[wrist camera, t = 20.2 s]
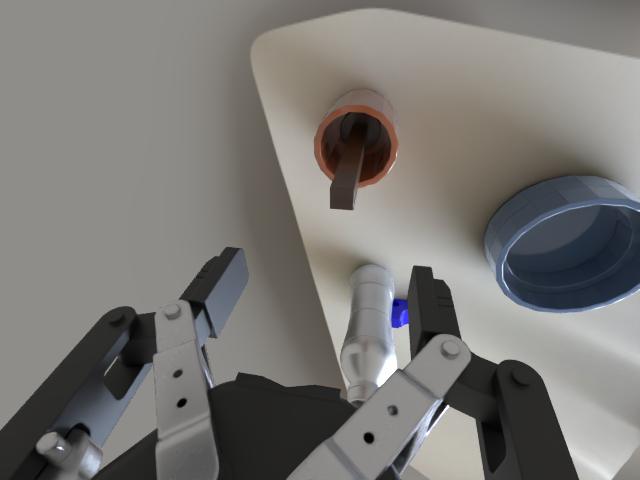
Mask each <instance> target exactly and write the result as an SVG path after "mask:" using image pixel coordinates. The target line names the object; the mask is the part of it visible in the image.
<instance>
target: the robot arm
mask: <svg viewBox="0 0 640 480" xmlns="http://www.w3.org/2000/svg"><path fill="white" fill-rule="evenodd" d="M247 281H248V269H247V264H246V259H245V254H244V251H243V249H242V248H232V247H226V248H225V249H224V250H223V252H222V253H221V255H220V256H219V257H218V256H215V257H214V258H212V259H211V260H209V261H208V262H206V264H205V265H204V266H203V268H202V269H201V271H200V272H199V273H198V274H197V276H196V278H194V280H193V281H192V282H191V283H190V285H189V286H188V287H187V289H186V290H185V291H184V293H183V294H182V295H181V297H180V298H179V299H178V300H174V301H170V302H168V303H166V304H164V305H163V306H161V307H160V308H159V309H158V311H157V312H153V313H146V314H139V315H137V313H136V312H135V310H134V309H133V308H131V307H128V306H123V307H118V308H115V309H113V310H111V311H109V312H107V313H106V314H105V315H103V316H102V317H101V318H100V320H99V321H98V322H97V323H96V324H95V325H94V326H93V327H92V329H91V330H90V331H89V332H88V333H87V334H86V335H85V337H84V338H83V339H82V340H81V341H80V342H79V343H78V344H77V345H76V347H75V348H74V349H73V350H72V351H71V352H70V353H69V354H68V356H67V357H66V358H65V359H64V360H63V361H62V362H61V363H60V364H59V366H58V367H57V368H56V369H55V370H54V371H53V373H51V375H50V376H49V377H48V378H47V379H46V380H45V381H44V382H43V383H42V385H41V386H40V387H39V388H38V389H37V390H36V391H35V392H34V394H33V395H32V396H31V397H30V398H29V399H28V400H27V401H26V403H25V404H24V405H23V406H22V407H21V408H20V409H19V410H18V412H17V413H16V414H15V415H14V416H13V417H12V418H11V420H9V422H8V423H7V424H6V425H5V426H4V427H3V428H2V429H1V431H0V480H402V479H401V478H400V476H401V474H402V473H403V471H404V470H405V469H406V467H407V466H408V465H409V463H410V462H411V461H412V459H413V458H414V456H415V455H416V453H417V452H418V450H419V448H420V446H421V445H422V443H423V441H424V440H425V438H426V437H427V435H428V434H429V433H430V431H431V430H432V429H433V427H434V426H435V425H436V423H437V422H438V420H439V419H440V418H441V416H442V415H443V414H444V412H445V411H446V410H447V408H448V407H449V406H450V407H452V408H454V409H456V410H458V411H460V412H463V413H465V414H467V415H469V416H471V417H473V418H475V420H476V426H477V432H478V439H479V445H480V451H481V458H482V464H483V471H484V477H485V480H579V478H578V475H577V472H576V470H575V467H574V464H573V461H572V458H571V456H570V453H569V450H568V447H567V445H566V442H565V439H564V436H563V434H562V431H561V428H560V425H559V422H558V420H557V417H556V414H555V411H554V409H553V406H552V403H551V400H550V398H549V395H548V392H547V389H546V387H545V384H544V381H543V379H542V378H541V376H540V375H539V374H538V373H537V372H536V371H535V370H534V369H533V368H531V367H530V366H528V365H527V364H525V363H523V362H520V361H517V360H504V361H502V362H501V363H500V364H499V365H498V364H496V363H493V362H491V361H488V360H486V359H483V358H481V357H479V356H477V355H475V354H474V353H473V352H471V351H470V349H469V347H468V346H467V345H466V343H465V342H463V341H462V339H461V335H460V331H459V326H458V322H457V318H456V313H455V309H454V304H453V300H452V296H451V291H450V288H449V287H448V286H447V284H446V283H445V282H444V281H443V280H439V279H433V273H432V268H431V267H426V266H415V265H414V266H413V269H412V274H411V279H410V284H409V289H408V298H407V305H408V320H409V336H410V351H411V362H410V363H409V364H408V365H407V366H406V367H405V368H404V369H403V370H401V369H397V370H395V371H394V372H393V373H392V374H391V375H390V376H389V377H388V378H387V379H386V380H385V381H384V383H383V384H382V385H381V386H380V387H379V388H378V389H377V390H376V391H375V392H374V393H373V394H372V395H371V396H370V397H369V398H368V399H367V400H366V401H365V402H364V403H363V404H362V406H361V407H360V408H359V409H358V408H357V407H355V406H354V405H353V404H352V403H350V402H348V401H347V400H345V399H343V398H341V389H337V388H331V387H325V386H318V385H307V386H296V387H284V386H282V385H280V384H278V383H276V382H274V381H272V380H270V379H267V378H265V377H263V376H258V375H252V374H245V373H240V372H239V373H238V375H237V377H236V380H235V381H229V382H225V383H222V384H219V385H217V386H215V382H214V379H213V375H212V370H211V367H210V362H209V358H208V353H207V349H206V346H205V342H206V340H207V338H208V337H210V338H218V336H219V334H220V333H221V331H222V329H223V327H224V325H225V324H226V322H227V320H228V318H229V316H230V314H231V312H232V311H233V309H234V307H235V305H236V303H237V301H238V299H239V298H240V296H241V294H242V292H243V290H244V288H245V286H246V284H247ZM116 357H118V359H117V360H116V361H115V363H114V364H113V365H112V367H111V368H110V369H109V371H108V372H107V373H106V375H105V376H104V374H105V371H106V370H107V369H108V367H109V366H110V365H111V363H112V362H113V361H114V359H115V358H116ZM152 365H153V368H154V383H155V399H156V414H157V429H155V430H154V431H152V432H151V433H150V434H148V435H147V436H146V437H144V438H143V439H142V440H140V441H139V442H138V443H136V444H135V445H134V446H132V447H131V448H130V449H128V450H127V451H126V452H124V453H123V454H121V455H120V456H119V457H117V458H116V459H115V460H113V461H112V462H111V463H109V464H108V465H107V466H105V467H104V468H103V469H101V470H100V471H99V466H100V464H101V461H102V456H103V455H102V454H103V452H102V449H101V448H102V446H103V445H104V443H105V441H106V440H107V438H108V437H109V435H110V433H111V432H112V430H113V429H114V427H115V425H116V424H117V422H118V420H119V419H120V417H121V416H122V414H123V412H124V411H125V409H126V408H127V406H128V404H129V403H130V401H131V399H132V398H133V396H134V395H135V393H136V391H137V390H138V388H139V386H140V385H141V383H142V382H143V380H144V378H145V376H146V375H147V374H148V372H149V370H150V369H151V367H152ZM103 377H104V378H103Z"/></svg>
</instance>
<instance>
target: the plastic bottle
mask: <svg viewBox="0 0 640 480" xmlns="http://www.w3.org/2000/svg"><path fill="white" fill-rule="evenodd" d="M394 294H395V284H394V281H393V278H392V276H391V274H390V273H389V272H388V271H387V270H385V269H384V268H382V267H380V266H378V265H364V266H362V267H360V268H358V269H357V270H356V271H355V272H354V273H353V275H352V278H351V281H350V297H351V314H350V320H349V325H348V330H347V334H346V337H345V340H344V343H343V347H342V350H341V355H340V361H341V367H342V370H343V372H344V374H345V376H346V378H347V379H348V381H349V383H350V385H349V386H348V391H347V394H348V400H347V401H348V402H350V403H352V404H353V405H354V406H355V407H357V408H358V409H359V408H360V407H361V406H362V404H363V403H364V402H365V401H366V400H367V399H368V398H369V397H370V396H371V395H372V394H373V393H374V392H375V391H376V390H377V389H378V388H379V387H380V386H381V385H382V384H383V383H384V381H385V380H386V379H387V378H388V377H389V376H390V375H391V374H392V373H393V372H394V371H395V370H396V369H397V360H396V353H395V348H394V343H393V337H392V326H391V313H392V303H393V300H394Z"/></svg>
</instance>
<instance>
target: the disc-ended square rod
mask: <svg viewBox="0 0 640 480" xmlns="http://www.w3.org/2000/svg"><path fill="white" fill-rule="evenodd" d="M380 133H381V124H380V121H379V120H378V119H377V118H375V117H373V116H370V115H368V114H366V113H363V112H349V113H347V115H346V116H345V117H344V119H343V121H342V123H341V126H340V135H341V138H342V141H343V142H344V144H345V148H344V150H343V153H342V156H341V159H340V162H339V164H338V167H337V170H336V173H335V176H334V178H333V181H332V184H331V187H330V209H343V210H354V204H355V199H356V194H357V189H358V183H359V178H360V173H361V168H362V162H363V157H364V152H365V150H367V149H369V148H371V147H373V146H374V145H375V144H376V142H377V141H378V139H379V137H380Z"/></svg>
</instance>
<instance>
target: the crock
mask: <svg viewBox="0 0 640 480" xmlns="http://www.w3.org/2000/svg"><path fill="white" fill-rule="evenodd" d="M349 112H363V113H366V114H368V115H370V116H373V117H375V118H377V119H378V120H379V121H380V124H381V133H380V137H379V139H378V141H377V142H376V144H375V145H374V146H373V147H371V148H369V149H367V150H365V152H364V157H363V162H362V168H361V173H360V178H359V183H358V188H362V187H365V186H368V185H371V184H375V183H377V182H378V181H379V180H380V179H382V178H383V177H384V176H385V175H387V174H388V173H389V171H390V169H391V168H392V166H393V164H394V162H395V161H396V158H397V150H398V132H397V121H396V117H395V113H394V110H393V108H392V106H391V104H390V103H389V101H388V100H387V99H386V98H385V97H384V96H382V95H381V94H379V93H378V92H375V91H373V90H369V89H357V90H353V91H350V92H348V93H346V94H344V95H343V96H341V97H340V98H339V99H338V100H337V101H336V103H335V104H334V105H333V106H332V107H331V109H330V110H329V112H328V113H327V115H326V116H325V118H324V119H323V120H322V122H321V123H320V125H319V128H318V130H317V133H316V136H315V138H314V154H315V158H316V160H317V162H318V165H319V167H320V169H321V171H322V172H323V173H324V174H325V175H326V176H327V177H328V178H329V179H330V180H332V181H333V178H334V176H335V173H336V170H337V167H338V164H339V162H340V159H341V156H342V153H343V150H344V148H345V144H344V142H343V141H342V138H341V135H340V126H341V123H342V121H343V119H344V117H345V116H346V115H347V113H349Z"/></svg>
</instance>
